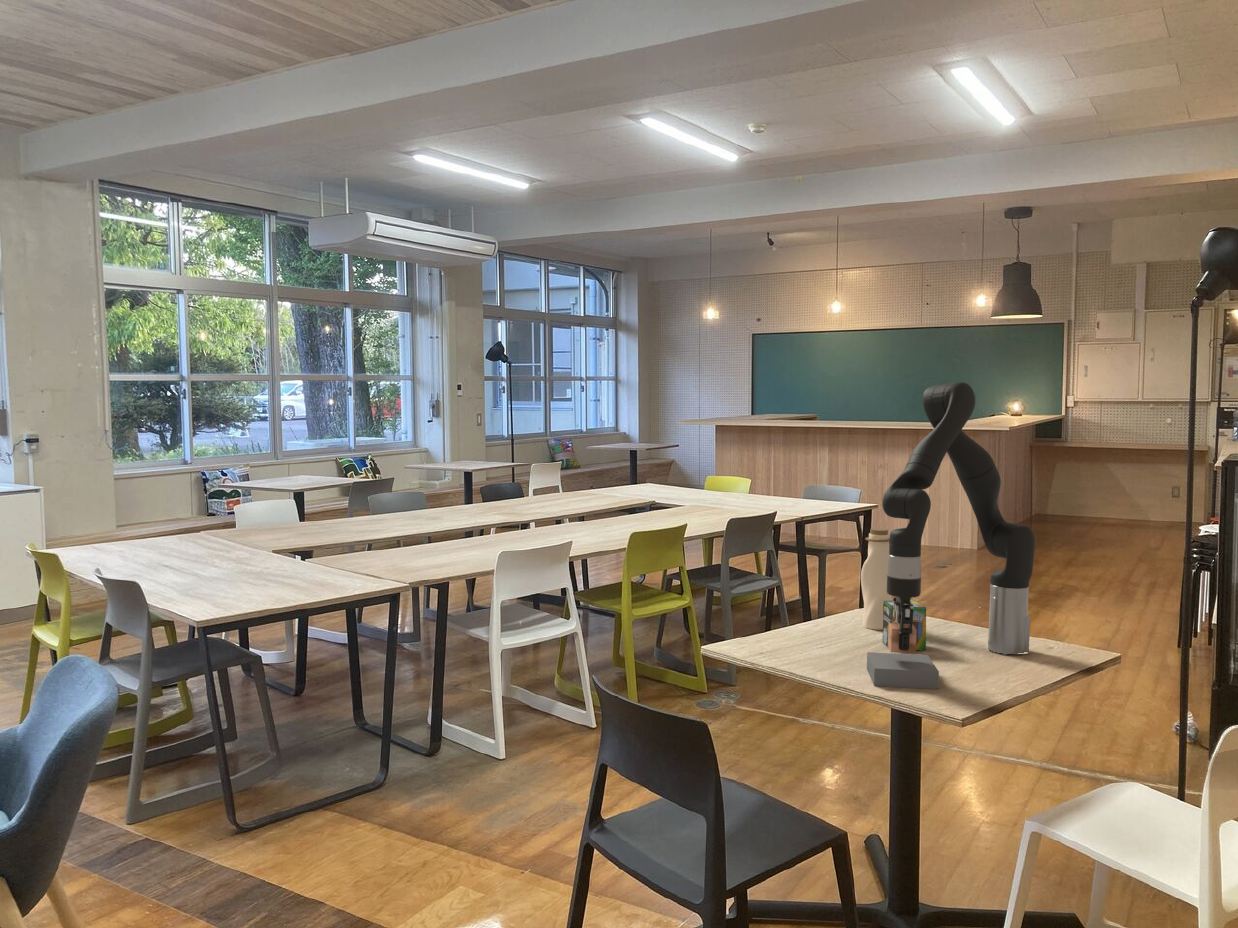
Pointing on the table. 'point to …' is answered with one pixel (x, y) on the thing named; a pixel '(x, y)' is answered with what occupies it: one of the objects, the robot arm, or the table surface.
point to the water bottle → (875, 578)
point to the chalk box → (918, 623)
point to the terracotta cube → (894, 639)
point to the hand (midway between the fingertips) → (901, 646)
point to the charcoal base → (902, 670)
